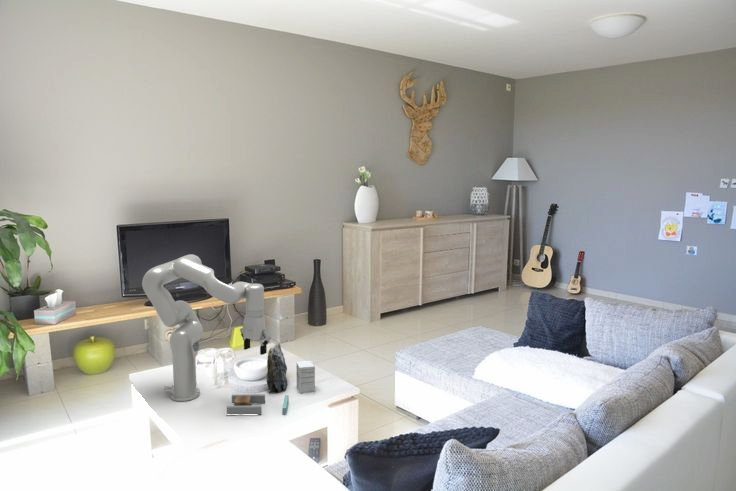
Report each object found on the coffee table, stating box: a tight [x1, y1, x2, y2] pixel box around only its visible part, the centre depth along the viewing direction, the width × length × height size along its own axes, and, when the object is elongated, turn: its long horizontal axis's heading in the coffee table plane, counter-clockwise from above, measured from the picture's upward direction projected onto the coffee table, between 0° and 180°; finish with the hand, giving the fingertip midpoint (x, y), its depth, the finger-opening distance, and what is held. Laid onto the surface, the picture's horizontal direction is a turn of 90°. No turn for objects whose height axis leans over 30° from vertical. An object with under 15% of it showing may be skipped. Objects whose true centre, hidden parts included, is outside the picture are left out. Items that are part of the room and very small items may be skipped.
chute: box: [226, 393, 266, 415], centre depth 219 cm, size 14×12×4 cm
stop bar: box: [281, 394, 290, 416], centre depth 220 cm, size 2×12×3 cm, turn 4°
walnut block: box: [233, 396, 252, 406], centre depth 219 cm, size 6×6×4 cm
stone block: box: [266, 341, 288, 394], centre depth 241 cm, size 18×9×20 cm, turn 3°
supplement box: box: [296, 360, 316, 394], centre depth 238 cm, size 7×7×13 cm
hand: (255, 351), depth 222 cm, fingers open, 9 cm apart
